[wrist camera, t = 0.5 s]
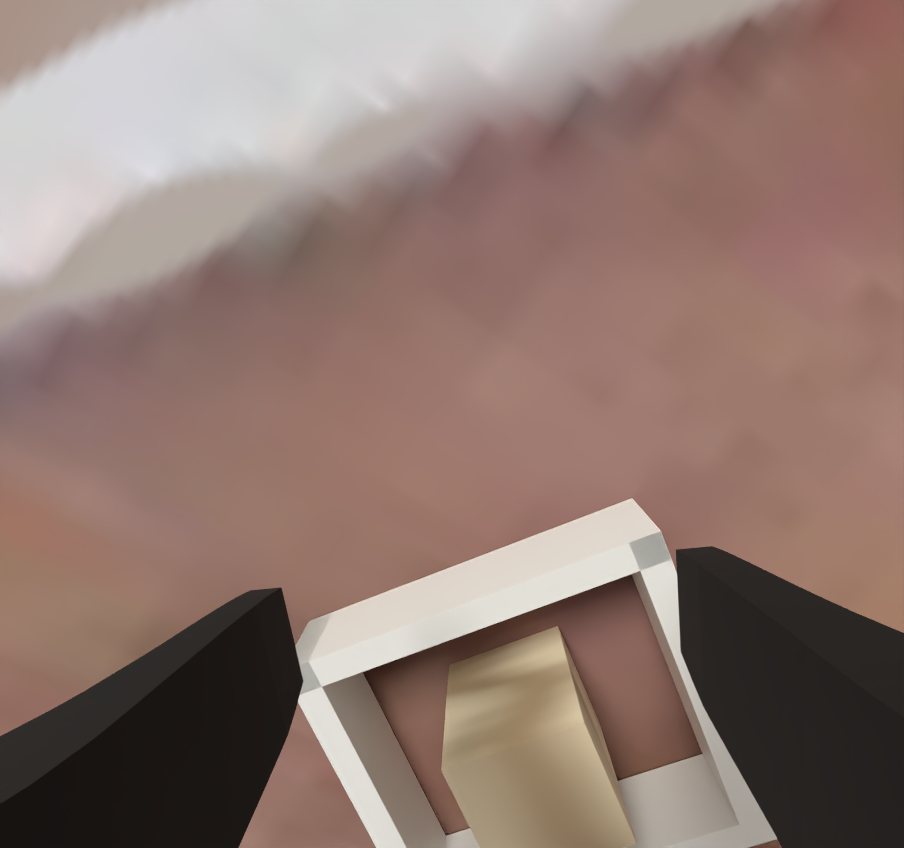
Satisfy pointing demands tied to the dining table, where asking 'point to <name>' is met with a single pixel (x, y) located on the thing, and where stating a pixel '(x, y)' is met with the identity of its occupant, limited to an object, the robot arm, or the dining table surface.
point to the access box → (486, 603)
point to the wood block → (530, 751)
